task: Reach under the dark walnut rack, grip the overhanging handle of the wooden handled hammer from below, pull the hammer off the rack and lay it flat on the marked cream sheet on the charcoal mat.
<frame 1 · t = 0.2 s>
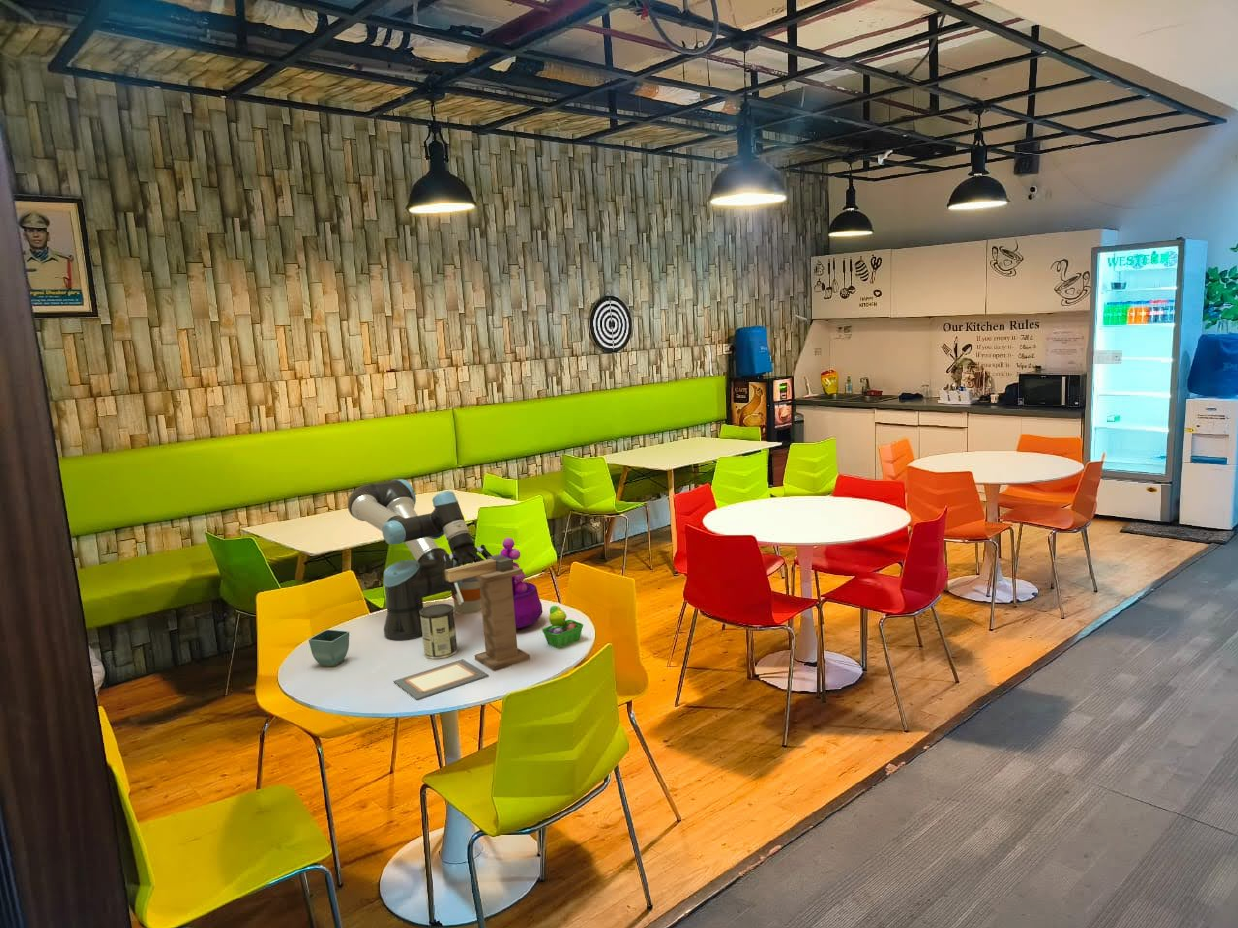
hand: (481, 597, 264), 15 cm above the table, tool tilted 35°, fingers open, 13 cm apart
coffee can: (440, 653, 262), on the table
rack: (502, 659, 253), on the table
wooden handled hammer: (477, 573, 245), point 28 cm above the table, touching rack
reusable coffee cup: (467, 610, 301), on the table, touching arm
pad: (441, 679, 241), on the table
flower pot: (332, 663, 259), on the table
decorative plant: (515, 625, 282), on the table
fruit basket: (562, 642, 265), on the table
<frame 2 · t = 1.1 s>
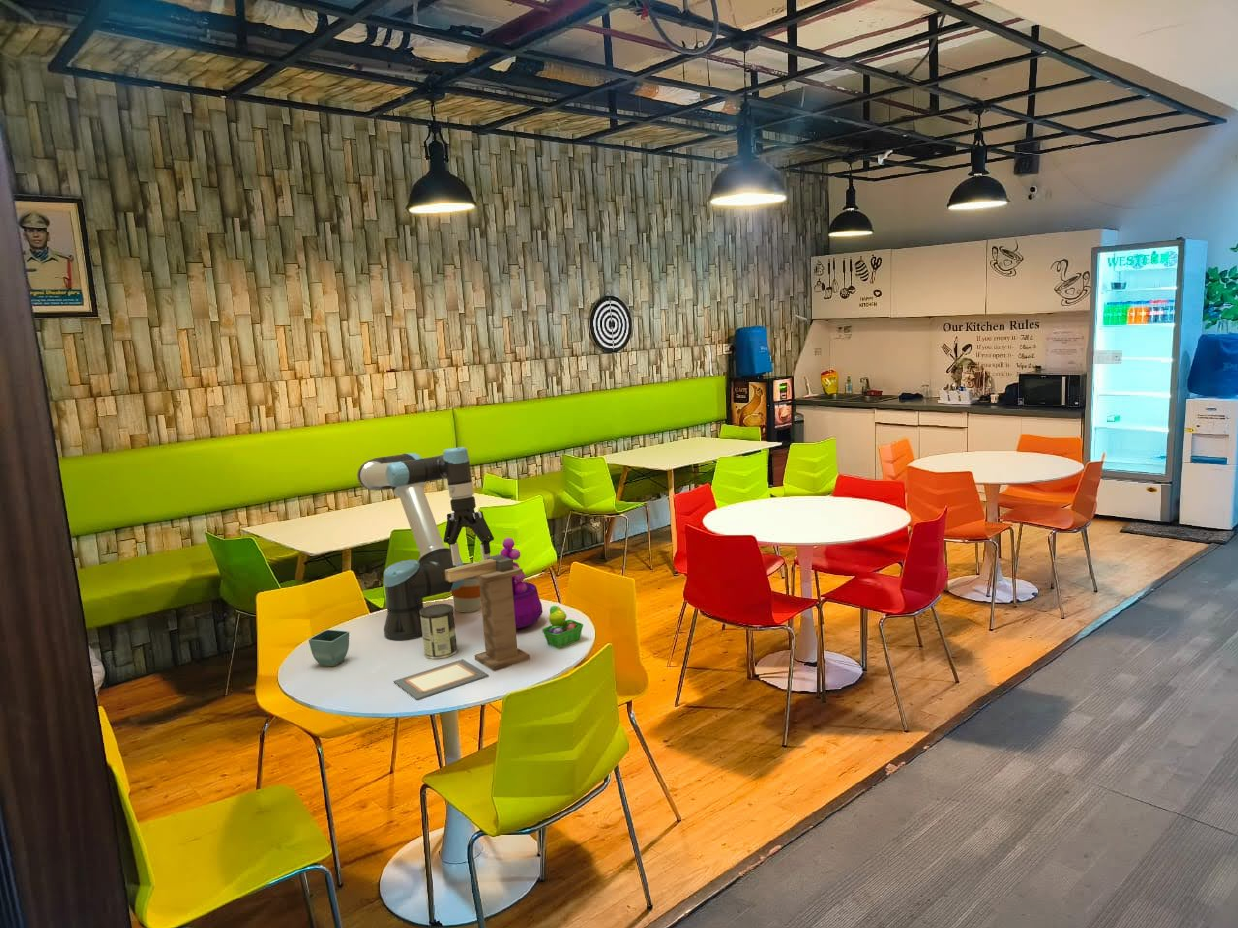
hand: (471, 564, 263), 26 cm above the table, tool pointing down, fingers open, 13 cm apart
reusable coffee cup: (467, 608, 301), on the table
everything else where it was.
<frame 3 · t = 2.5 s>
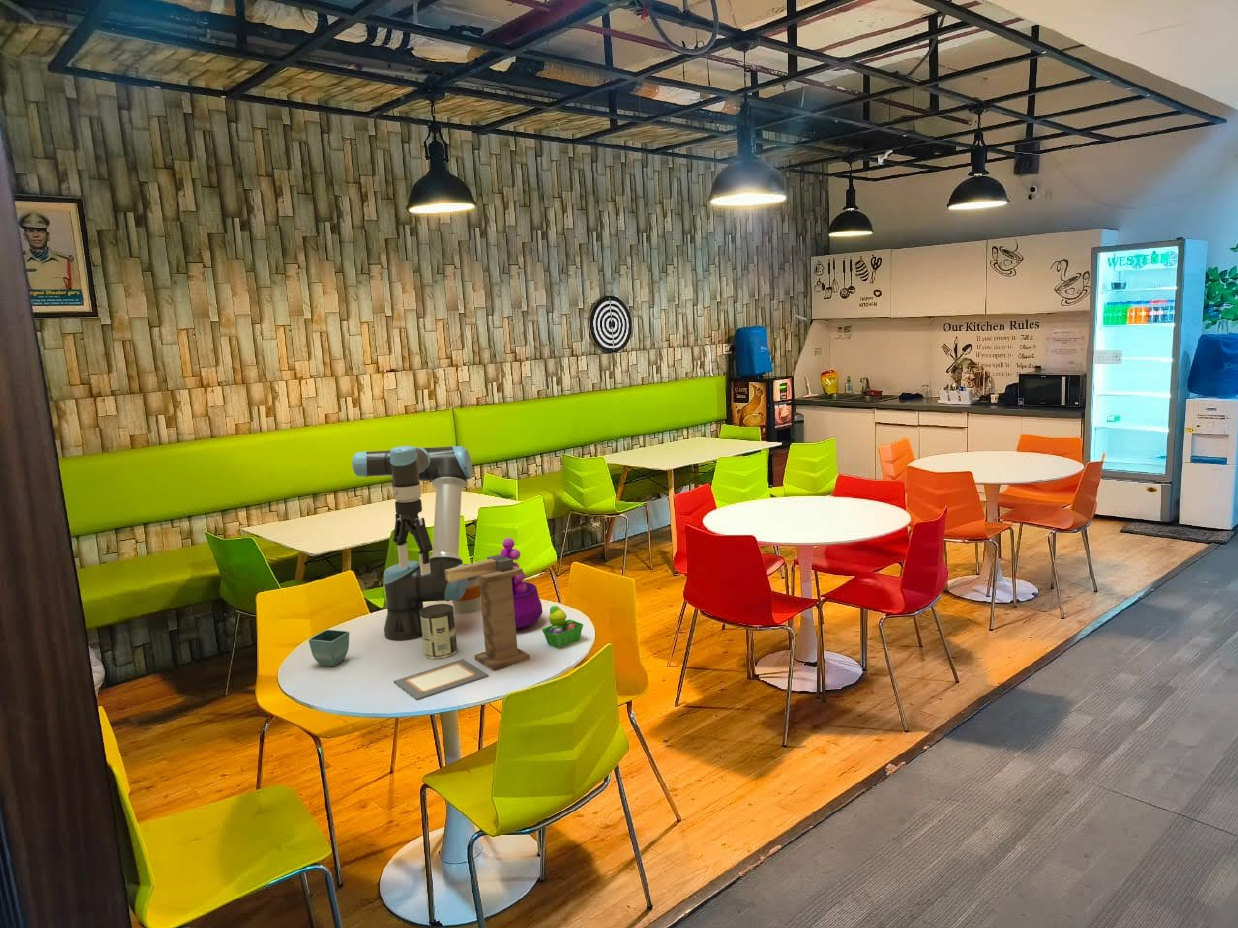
hand: (414, 570, 249), 29 cm above the table, tool pointing down, fingers open, 13 cm apart
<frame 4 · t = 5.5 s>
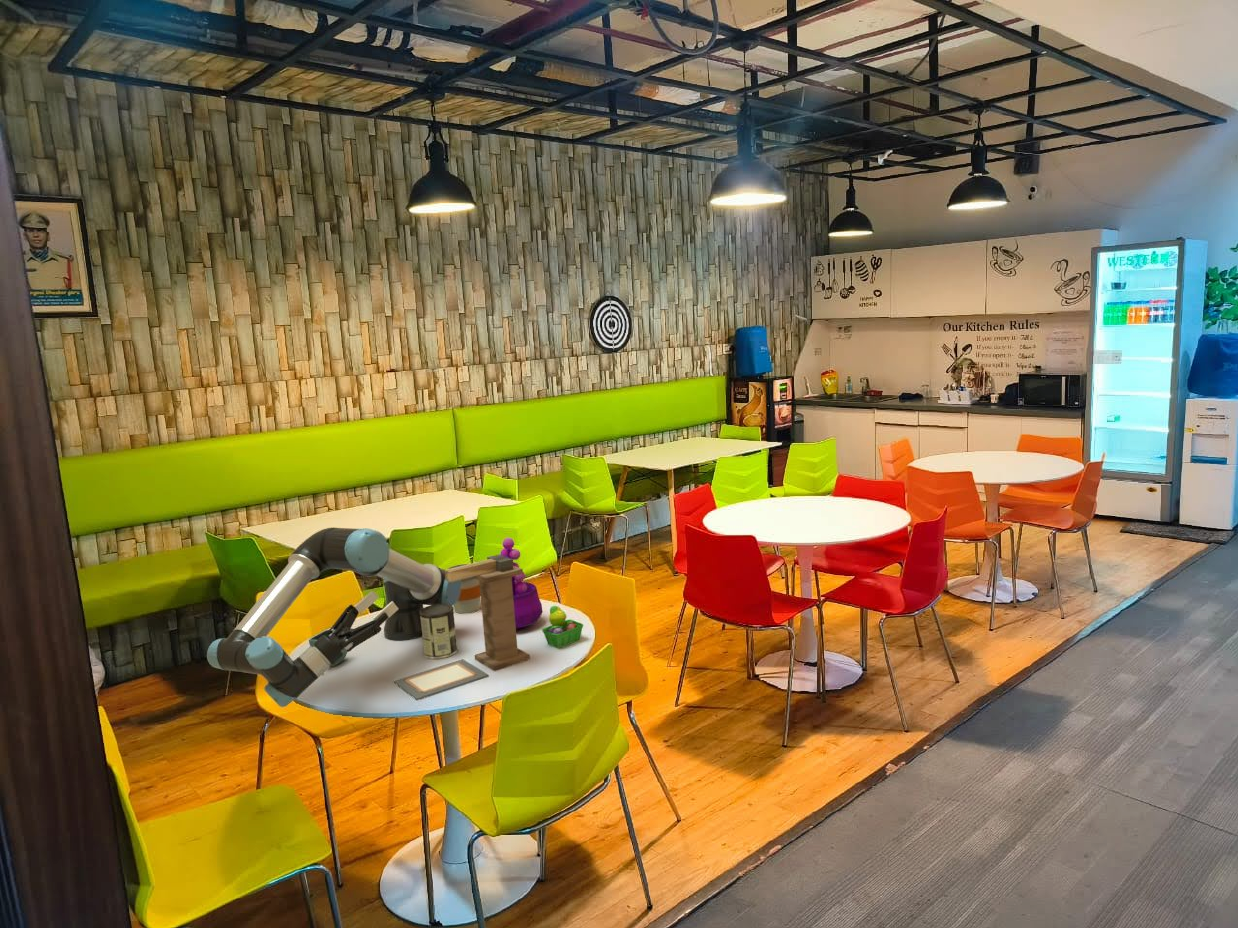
hand: (385, 599, 229), 27 cm above the table, tool pointing upward, fingers open, 13 cm apart
nothing on the table moved.
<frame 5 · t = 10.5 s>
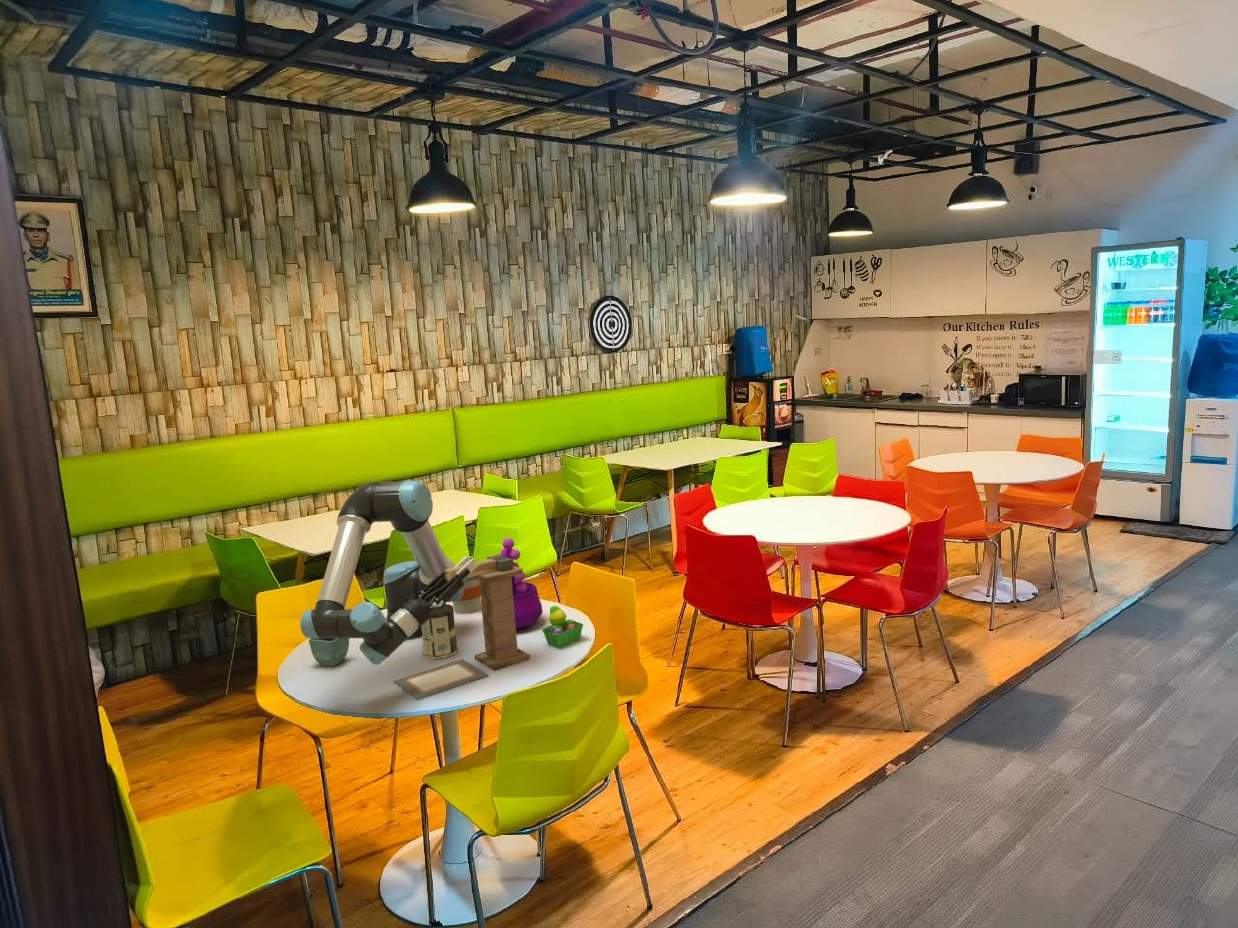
hand: (472, 560, 244), 32 cm above the table, tool pointing upward, fingers closed on wooden handled hammer, 3 cm apart
wooden handled hammer: (477, 573, 245), point 28 cm above the table, touching gripper, rack
everything else where it was.
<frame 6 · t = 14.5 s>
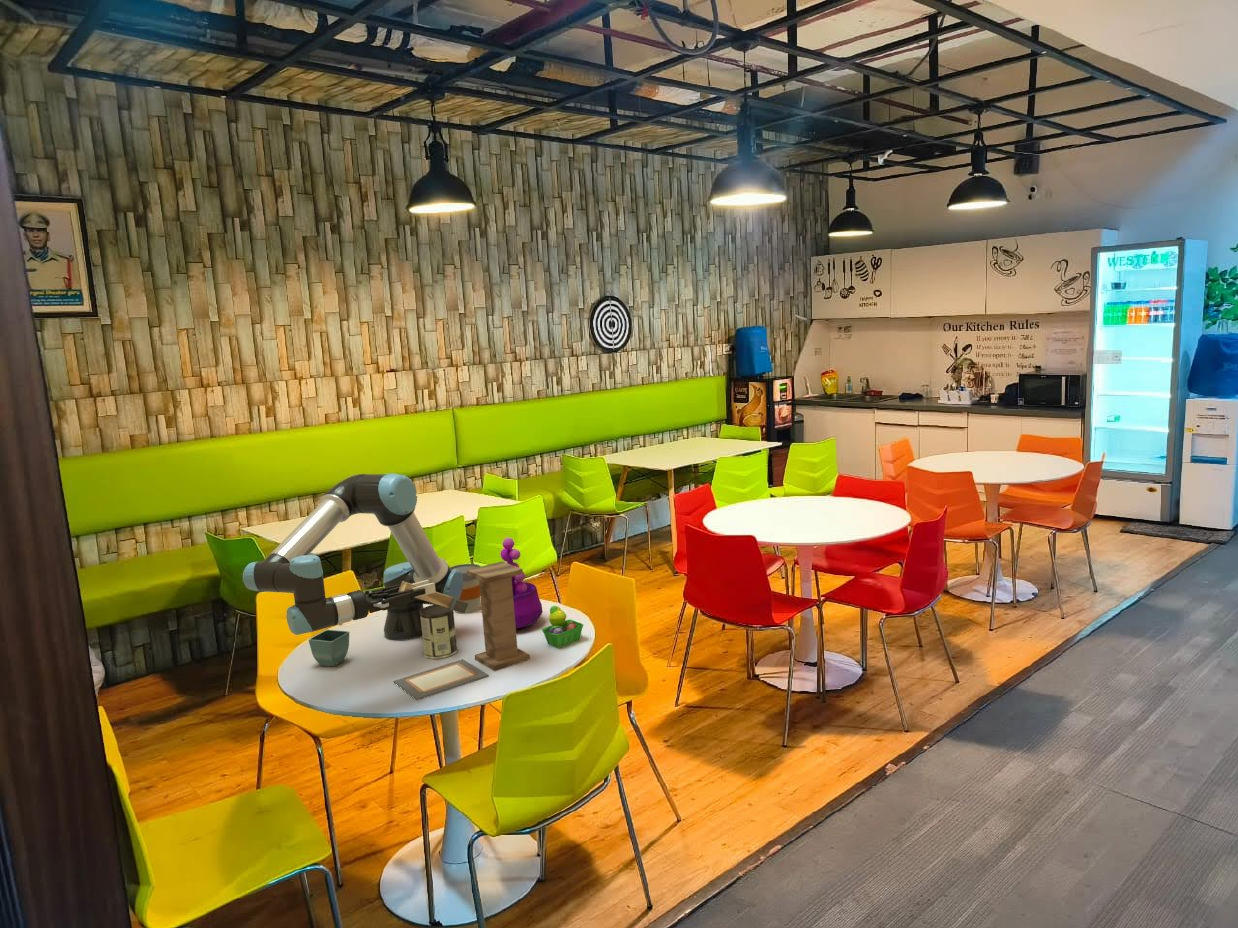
hand: (431, 586, 237), 28 cm above the table, tool horizontal, fingers closed on wooden handled hammer, 3 cm apart
wooden handled hammer: (429, 601, 237), point 23 cm above the table, tilted 30°, touching gripper
everything else where it was.
when the fingers open (11 cm above the table, at t = 17.3 s): wooden handled hammer drops 6 cm, resting on pad.
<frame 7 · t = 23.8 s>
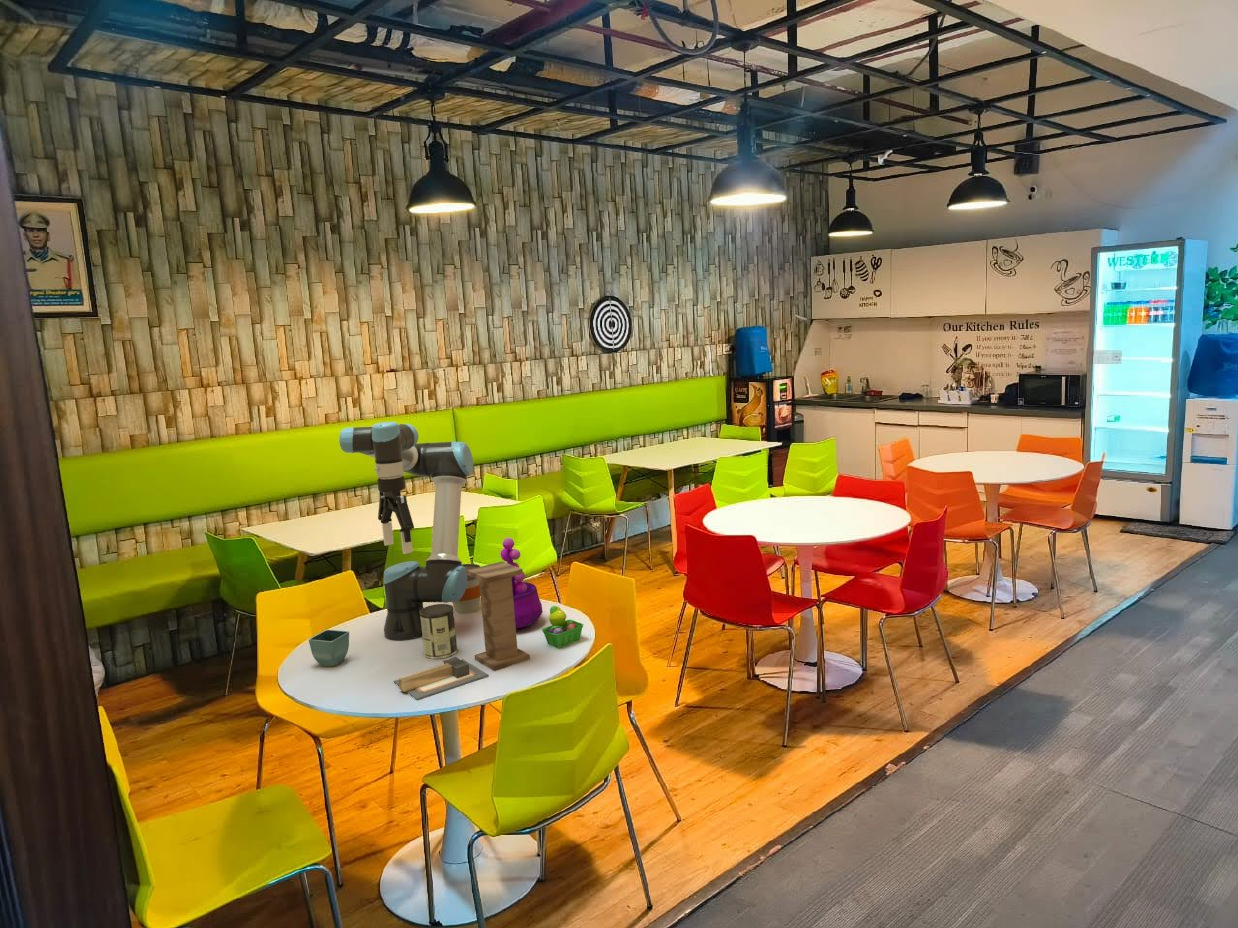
hand: (398, 548, 245), 37 cm above the table, tool pointing down, fingers open, 13 cm apart
wooden handled hammer: (433, 680, 240), point 1 cm above the table, touching pad
everything else where it was.
at the end: wooden handled hammer inside the target area on the pad (2.5 cm from its centre), point 0.7 cm above the pad's base; the gripper is holding nothing; wooden handled hammer tilted 0° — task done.
